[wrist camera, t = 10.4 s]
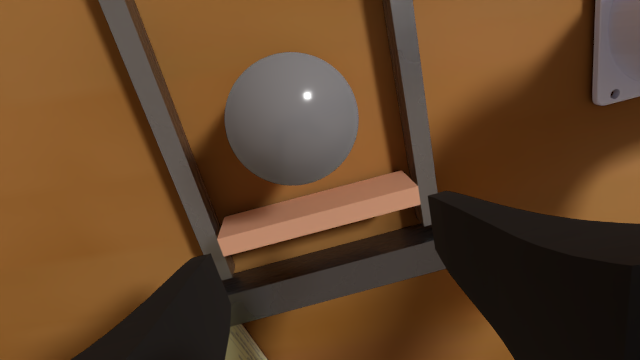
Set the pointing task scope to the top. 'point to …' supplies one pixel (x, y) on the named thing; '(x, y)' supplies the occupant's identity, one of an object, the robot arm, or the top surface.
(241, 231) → the bar
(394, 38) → the lane
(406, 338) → the top surface
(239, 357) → the box
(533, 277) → the robot arm
